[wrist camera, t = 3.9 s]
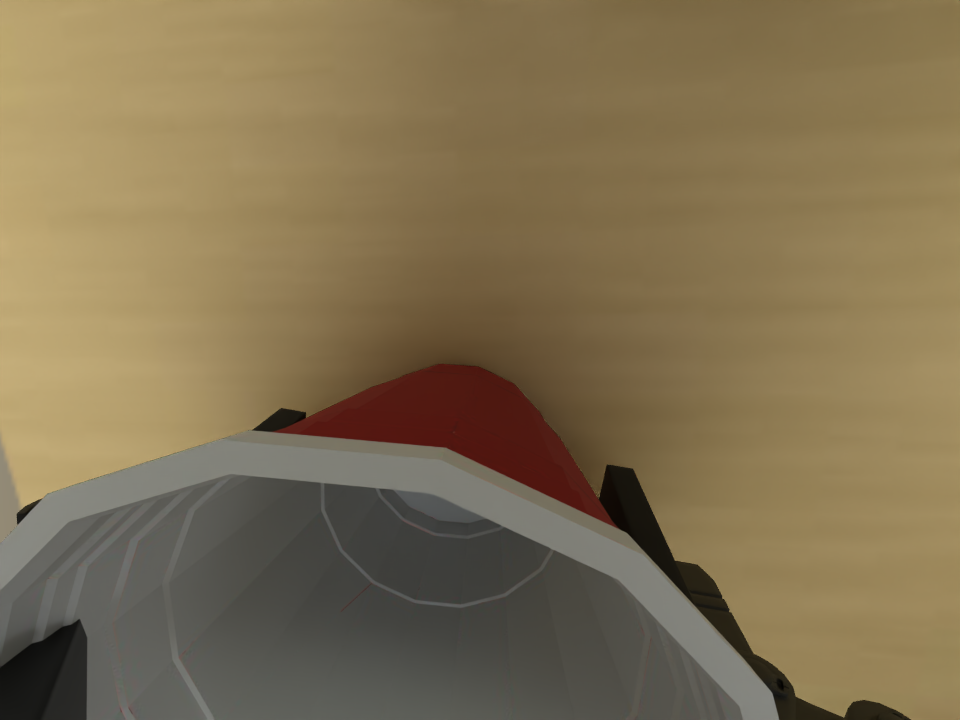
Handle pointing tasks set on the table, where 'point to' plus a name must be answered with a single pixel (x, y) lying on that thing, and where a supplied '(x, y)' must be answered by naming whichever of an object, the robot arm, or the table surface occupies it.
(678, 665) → the plastic cup
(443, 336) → the table surface
